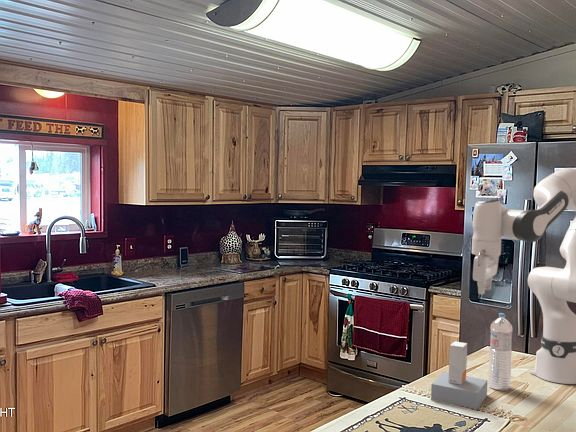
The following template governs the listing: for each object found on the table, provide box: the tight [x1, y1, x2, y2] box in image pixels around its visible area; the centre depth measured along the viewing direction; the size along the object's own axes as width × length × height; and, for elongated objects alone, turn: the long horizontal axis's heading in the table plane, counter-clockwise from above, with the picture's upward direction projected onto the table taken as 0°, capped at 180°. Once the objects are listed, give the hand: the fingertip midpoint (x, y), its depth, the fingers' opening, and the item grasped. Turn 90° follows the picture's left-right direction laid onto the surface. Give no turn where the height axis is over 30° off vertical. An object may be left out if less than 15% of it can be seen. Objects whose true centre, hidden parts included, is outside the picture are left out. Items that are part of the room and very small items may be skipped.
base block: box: [430, 371, 488, 410], centre depth 172 cm, size 14×14×5 cm
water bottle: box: [488, 312, 513, 392], centre depth 182 cm, size 7×7×25 cm
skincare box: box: [448, 341, 468, 385], centre depth 172 cm, size 6×4×12 cm
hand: (484, 291), depth 175 cm, fingers open, 8 cm apart
